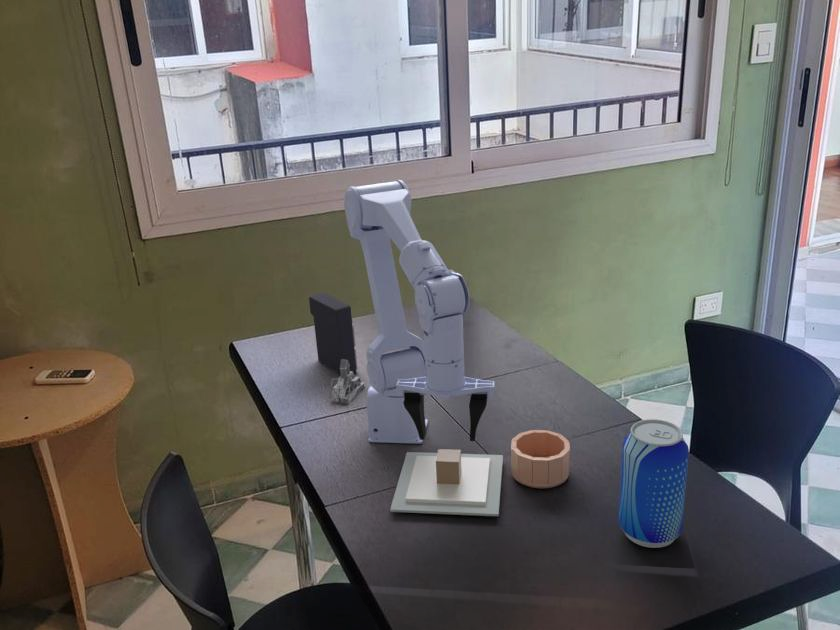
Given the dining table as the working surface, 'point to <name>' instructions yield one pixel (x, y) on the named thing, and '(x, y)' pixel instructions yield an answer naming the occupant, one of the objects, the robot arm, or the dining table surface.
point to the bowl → (540, 458)
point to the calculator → (333, 332)
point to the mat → (457, 509)
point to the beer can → (653, 483)
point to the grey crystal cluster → (345, 385)
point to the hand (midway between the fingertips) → (447, 437)
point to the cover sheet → (447, 491)
